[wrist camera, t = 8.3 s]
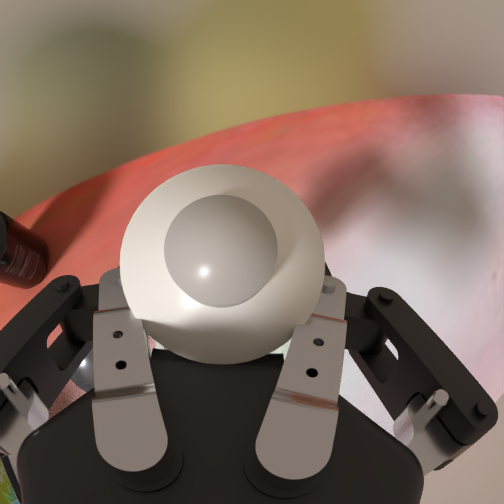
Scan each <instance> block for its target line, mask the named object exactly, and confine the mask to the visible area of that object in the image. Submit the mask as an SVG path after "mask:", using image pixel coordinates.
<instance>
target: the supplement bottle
mask: <svg viewBox="0 0 504 504" xmlns="http://www.w3.org/2000/svg"><path fill="white" fill-rule="evenodd" d="M47 265H48V249H47V246H46V243H45V242H44V240H43V239H42V238H41V237H40V236H39V235H38V234H36V233H35V232H33V231H31V230H30V229H28V228H26V227H25V226H23V225H22V224H20V223H18V222H17V221H15V220H14V219H12V218H10V217H9V216H7V215H6V214H4V213H3V212H1V211H0V282H1V283H4V284H7V285H11V286H14V287H17V288H21V289H29V288H32V287H34V286H35V285H37V284H38V283H39V282H40V281H41V279H42V278H43V276H44V274H45V272H46V269H47Z"/></svg>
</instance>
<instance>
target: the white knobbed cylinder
mask: <svg viewBox="0 0 504 504" xmlns="http://www.w3.org/2000/svg"><path fill="white" fill-rule="evenodd" d="M324 275H325V255H324V247H323V243H322V238H321V235H320V232H319V229H318V227H317V224H316V222H315V220H314V218H313V216H312V215H311V213H310V211H309V210H308V208H307V207H306V206H305V204H304V203H303V202H302V200H301V199H300V198H299V197H298V196H297V195H296V194H295V193H294V192H293V191H292V190H291V189H289V188H288V187H287V186H286V185H284V184H283V183H281V182H280V181H278V180H277V179H275V178H274V177H272V176H270V175H268V174H265V173H263V172H261V171H258V170H255V169H252V168H248V167H244V166H239V165H229V164H216V165H207V166H201V167H197V168H193V169H190V170H187V171H185V172H182V173H180V174H177V175H176V176H174V177H172V178H170V179H168V180H167V181H165V182H164V183H162V184H161V185H159V186H158V187H157V188H156V189H155V190H153V191H152V192H151V193H150V194H149V195H148V196H147V197H146V198H145V200H144V201H143V202H142V203H141V204H140V205H139V207H138V208H137V210H136V212H135V213H134V215H133V216H132V218H131V220H130V222H129V224H128V226H127V229H126V232H125V235H124V238H123V242H122V247H121V252H120V276H121V282H122V287H123V292H124V295H125V297H126V300H127V303H128V305H129V307H130V309H131V311H132V313H133V315H134V317H135V318H137V319H142V324H143V329H144V330H145V331H146V332H147V333H148V334H149V335H150V336H151V337H152V338H153V339H154V340H156V341H157V342H158V343H159V344H161V345H162V346H163V347H165V348H166V349H168V350H170V351H172V352H173V353H175V354H177V355H180V356H182V357H184V358H187V359H189V360H193V361H197V362H201V363H207V364H237V363H243V362H248V361H251V360H254V359H257V358H260V357H263V356H265V355H267V354H269V353H271V352H273V351H275V350H276V349H278V348H279V347H281V346H282V345H284V344H285V343H287V342H288V341H289V340H290V339H291V338H292V336H293V333H294V329H295V326H296V325H304V324H305V323H306V322H307V320H308V319H309V317H310V315H311V314H312V312H313V310H314V308H315V306H316V304H317V302H318V300H319V297H320V293H321V290H322V287H323V281H324Z"/></svg>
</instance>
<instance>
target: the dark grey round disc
mask: <svg viewBox="0 0 504 504" xmlns="http://www.w3.org/2000/svg"><path fill="white" fill-rule="evenodd" d="M71 380H72V381H73V382H74V383H75V384H76V385H77V386H78V387H80V388H81V389H82V390H84V391H86V392H88V391H89V390H91V389H92V388H94V387H95V386H94V365H93V348H92V349H91V351H90V352H89V354H88V355H87V356H86V358H85V359H84V360H83V362H82V363H81V364H80V366H79V367H78V368H77V370H76V371H75V373H74V374H73V375H72V377H71Z"/></svg>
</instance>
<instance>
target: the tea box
mask: <svg viewBox="0 0 504 504" xmlns="http://www.w3.org/2000/svg"><path fill="white" fill-rule="evenodd" d="M16 461H17V460H16V459H15V458H14V457H13V456H12V455H8V454H6V453H4V452H3V451H2V450H1V449H0V504H22V498H21V490H20V484H19V480H18V475H17V467H16Z"/></svg>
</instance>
